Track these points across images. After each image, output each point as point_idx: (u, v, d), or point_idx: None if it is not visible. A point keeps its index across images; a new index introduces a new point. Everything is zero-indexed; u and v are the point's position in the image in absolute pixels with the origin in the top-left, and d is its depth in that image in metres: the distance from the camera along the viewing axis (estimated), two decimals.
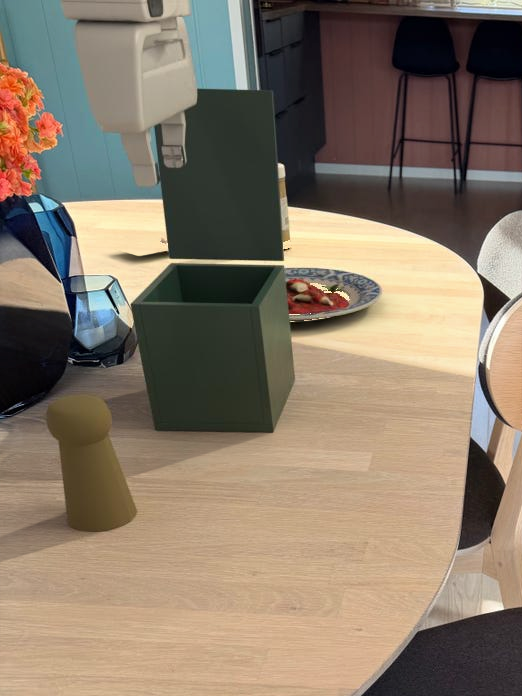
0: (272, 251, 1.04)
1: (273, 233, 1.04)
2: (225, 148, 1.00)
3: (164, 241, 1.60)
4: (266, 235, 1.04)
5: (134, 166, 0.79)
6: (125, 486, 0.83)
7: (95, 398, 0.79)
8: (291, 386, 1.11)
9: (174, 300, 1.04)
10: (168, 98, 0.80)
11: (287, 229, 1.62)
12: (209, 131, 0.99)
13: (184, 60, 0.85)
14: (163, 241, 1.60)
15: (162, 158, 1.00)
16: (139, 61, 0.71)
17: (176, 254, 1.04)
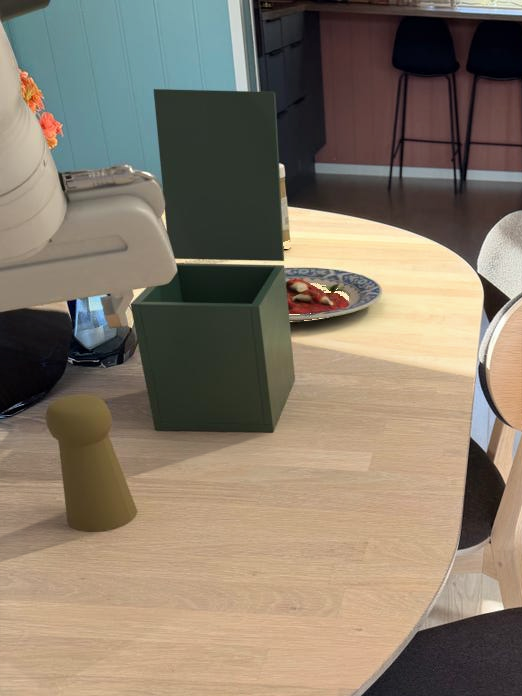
0: (272, 251, 1.04)
1: (273, 233, 1.04)
2: (227, 148, 1.01)
3: None
4: (266, 235, 1.04)
5: None
6: (125, 486, 0.83)
7: (95, 398, 0.79)
8: (291, 386, 1.11)
9: (174, 300, 1.04)
10: (17, 295, 0.64)
11: (287, 229, 1.62)
12: (211, 132, 1.00)
13: (119, 253, 0.64)
14: None
15: (164, 158, 1.01)
16: None
17: (176, 253, 1.04)
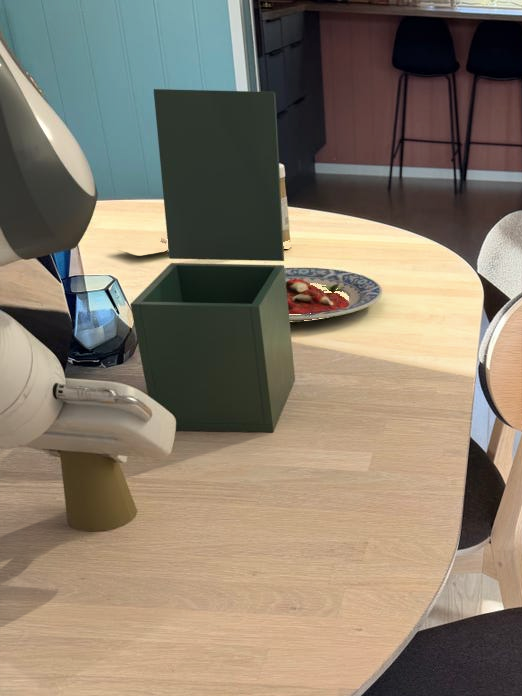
0: (272, 251, 1.04)
1: (273, 233, 1.04)
2: (227, 148, 1.01)
3: (164, 241, 1.60)
4: (266, 235, 1.04)
5: None
6: (125, 486, 0.83)
7: None
8: (291, 386, 1.11)
9: (174, 300, 1.04)
10: (38, 444, 0.76)
11: (287, 229, 1.62)
12: (211, 132, 1.00)
13: (112, 440, 0.73)
14: (163, 241, 1.60)
15: (164, 158, 1.01)
16: None
17: (176, 253, 1.04)
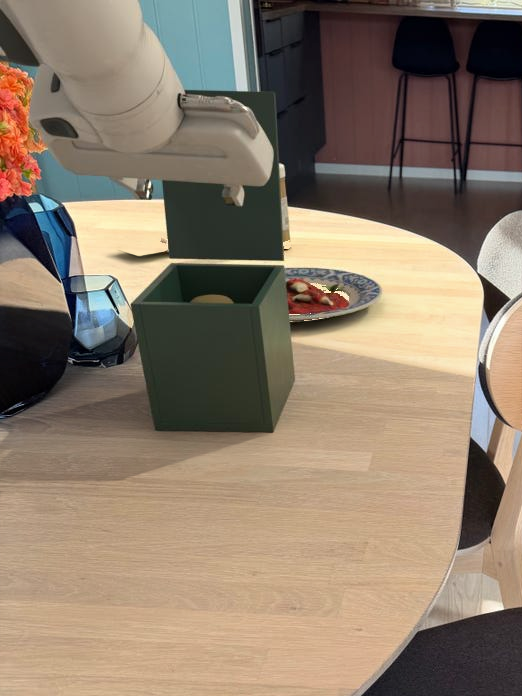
0: (272, 251, 1.04)
1: (273, 233, 1.04)
2: None
3: (164, 241, 1.60)
4: (266, 235, 1.04)
5: None
6: None
7: (225, 297, 1.01)
8: (291, 386, 1.11)
9: (174, 300, 1.04)
10: (152, 171, 0.86)
11: (287, 229, 1.62)
12: None
13: (221, 159, 0.83)
14: (163, 241, 1.60)
15: None
16: (48, 146, 0.84)
17: (176, 253, 1.04)
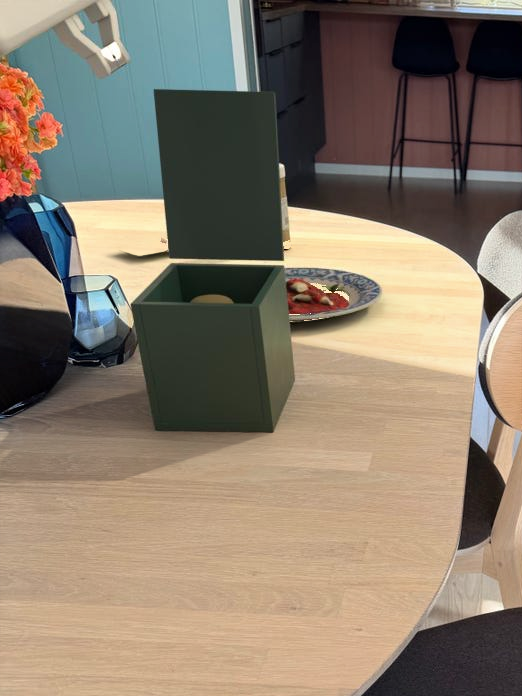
0: (272, 251, 1.04)
1: (273, 233, 1.04)
2: (227, 148, 1.01)
3: (164, 241, 1.60)
4: (266, 235, 1.04)
5: (87, 59, 0.79)
6: None
7: (225, 297, 1.01)
8: (291, 386, 1.11)
9: (174, 300, 1.04)
10: None
11: (287, 229, 1.62)
12: (211, 132, 1.00)
13: None
14: (163, 241, 1.60)
15: (164, 158, 1.01)
16: None
17: (176, 253, 1.04)
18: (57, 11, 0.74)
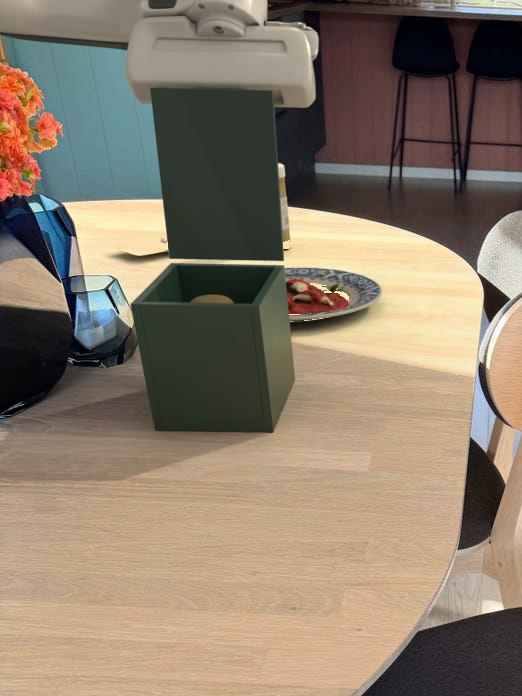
0: (272, 251, 1.04)
1: (273, 233, 1.04)
2: (226, 148, 1.00)
3: (164, 241, 1.60)
4: (266, 235, 1.04)
5: None
6: None
7: (225, 297, 1.01)
8: (291, 386, 1.11)
9: (174, 300, 1.04)
10: (209, 70, 1.00)
11: (287, 229, 1.62)
12: (209, 131, 0.99)
13: (279, 53, 1.01)
14: (163, 241, 1.60)
15: (162, 158, 1.00)
16: (133, 37, 1.00)
17: (176, 254, 1.04)
18: (187, 77, 1.00)
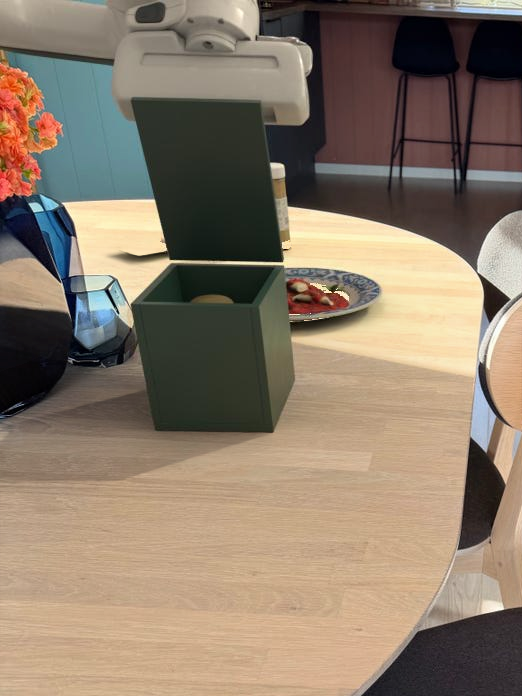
0: (271, 253, 1.04)
1: (271, 238, 1.03)
2: (216, 159, 0.96)
3: (164, 241, 1.60)
4: (264, 240, 1.03)
5: None
6: None
7: (225, 297, 1.01)
8: (291, 386, 1.11)
9: (174, 300, 1.04)
10: (198, 86, 0.96)
11: (287, 229, 1.62)
12: (198, 143, 0.95)
13: (271, 69, 0.97)
14: (163, 241, 1.60)
15: (152, 168, 0.97)
16: (119, 52, 0.96)
17: (176, 256, 1.04)
18: (176, 94, 0.96)
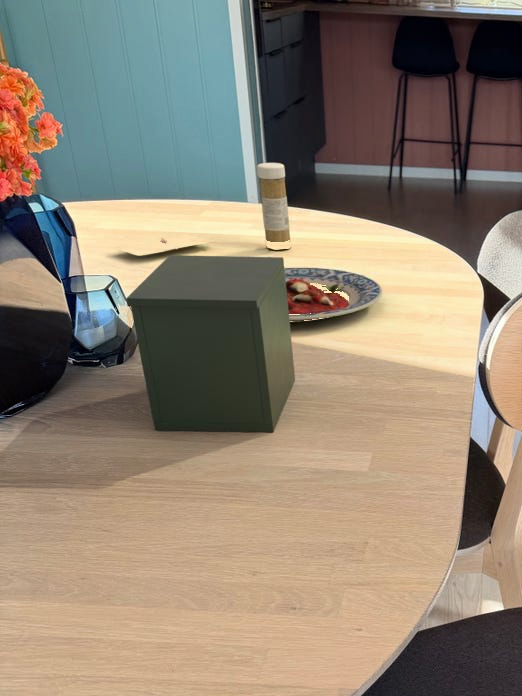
0: None
1: None
2: None
3: (164, 241, 1.60)
4: None
5: None
6: None
7: None
8: (291, 386, 1.11)
9: None
10: None
11: (287, 229, 1.62)
12: None
13: None
14: (163, 241, 1.60)
15: None
16: None
17: None
18: None
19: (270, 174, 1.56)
